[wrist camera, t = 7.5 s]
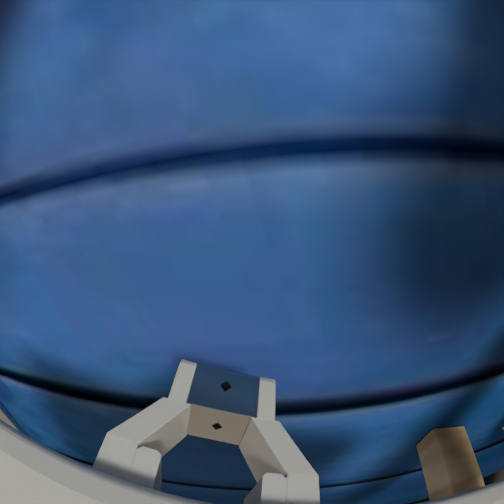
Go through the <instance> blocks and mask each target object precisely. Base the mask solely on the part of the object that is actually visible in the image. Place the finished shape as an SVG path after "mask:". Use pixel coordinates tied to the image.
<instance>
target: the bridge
mask: <svg viewBox="0 0 504 504" xmlns="http://www.w3.org/2000/svg"><path fill="white" fill-rule="evenodd" d="M416 446H417V450H418V454H419V458H420V461H421V465H422V469H423V473H424V477H425V481H426V486H427V490H428V494H429V499H430V501H432V500H437V499H441V498H445V497H449V496H453V495H457V494H461V493H464V492H468V491H471V490H474V489H478V488H481V487H484V486H485V484H484V481H483V478H482V475H481V472H480V469H479V466H478V463H477V460H476V457H475V454H474V452H473V449H472V446H471V443H470V441H469V438H468V435H467V433H466V430H465V428H464V426H461V427H450V428H436V429H432V430H431V431H430V432H429V433H428V434H427V435H426V436H425V437H424V438H423V439H422V440H421V441H420V442H419V443H418V444H417V445H416Z"/></svg>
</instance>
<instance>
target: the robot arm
mask: <svg viewBox="0 0 504 504" xmlns="http://www.w3.org/2000/svg"><path fill="white" fill-rule="evenodd" d="M275 398H276V382H275V380H274V379H269V378H263V377H258V376H253V375H248V374H243V373H237V372H233V371H226V370H222V369H218V368H214V367H210V366H206V365H203V364H199V363H195V362H191V361H187V360H184V359H182V360H181V362H180V364H179V367H178V369H177V372H176V375H175V378H174V381H173V384H172V387H171V390H170V393H169V396H168V398H166V397H162V398H161V399H159V400H158V401H156V402H155V403H153V404H152V405H150V406H149V407H147V408H145V409H144V410H142V411H141V412H139V413H138V414H136V415H134V416H133V417H131V418H130V419H128V420H126V421H125V422H123V423H122V424H120V425H118V426H117V427H115V428H114V429H112V430H110V431H109V432H107V434H106V436H105V439H104V441H103V443H102V446H101V448H100V450H99V453H98V455H97V457H96V460H95V462H94V465H93V467H92V468H91V467H89V466H86V465H84V464H82V463H79V462H77V461H75V460H73V459H71V458H68V457H66V456H64V455H62V454H60V453H58V452H56V451H54V450H52V449H50V448H48V447H46V446H44V445H42V444H41V443H39V442H37V441H35V440H33V439H31V438H30V437H28V436H26V435H24V434H23V433H21V432H19V431H18V430H16V429H14V428H13V427H11V426H10V425H8V424H6V423H5V422H3V421H2V420H0V504H215V503H209V502H204V501H199V500H194V499H189V498H185V497H181V496H177V495H173V494H169V493H165V492H161V491H160V488H161V484H162V456H164V455H165V454H166V453H167V452H168V451H170V450H171V449H172V448H173V447H174V446H175V445H176V444H178V443H179V442H180V441H181V440H182V439H183V438H184V437H186V435H187V434H188V435H192V436H197V437H202V438H207V439H212V440H217V441H221V442H226V443H230V444H235V445H239V448H240V450H241V452H242V454H243V456H244V458H245V460H246V462H247V464H248V466H249V468H250V470H251V472H252V474H253V476H254V478H255V480H256V482H257V484H256V485H255V487H254V488H253V489H252V490H251V492H250V493H249V494H248V495H247V496H246V498H245V499H244V504H320V496H319V476H318V474H317V473H316V472H315V470H314V469H313V468H312V466H311V465H310V463H309V462H308V461H307V459H306V458H305V457H304V455H303V454H302V453H301V451H300V450H299V448H298V447H297V446H296V444H295V443H294V441H293V440H292V439H291V437H290V436H289V434H288V433H287V432H286V430H285V429H284V427H283V426H282V424H281V423H280V422H279V421H275ZM417 504H504V480H501V481H498V482H496V483H493V484H490V485H487V486H484V487H481V488H478V489H474V490H471V491H468V492H464V493H461V494H457V495H453V496H449V497H445V498H441V499H437V500H432V501H427V502H422V503H417Z"/></svg>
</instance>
